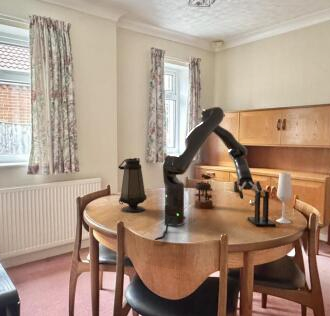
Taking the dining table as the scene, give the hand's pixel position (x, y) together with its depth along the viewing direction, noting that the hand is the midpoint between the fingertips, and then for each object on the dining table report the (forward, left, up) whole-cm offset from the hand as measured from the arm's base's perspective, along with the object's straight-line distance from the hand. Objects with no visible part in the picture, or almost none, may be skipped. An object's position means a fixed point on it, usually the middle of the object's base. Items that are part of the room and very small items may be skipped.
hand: (250, 198), depth 158 cm
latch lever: (-8, -5, 0) cm, 10 cm away
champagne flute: (-5, -17, -9) cm, 20 cm away
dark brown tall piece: (+4, +28, -9) cm, 30 cm away
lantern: (-23, +60, -9) cm, 65 cm away
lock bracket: (-13, -8, -9) cm, 17 cm away
